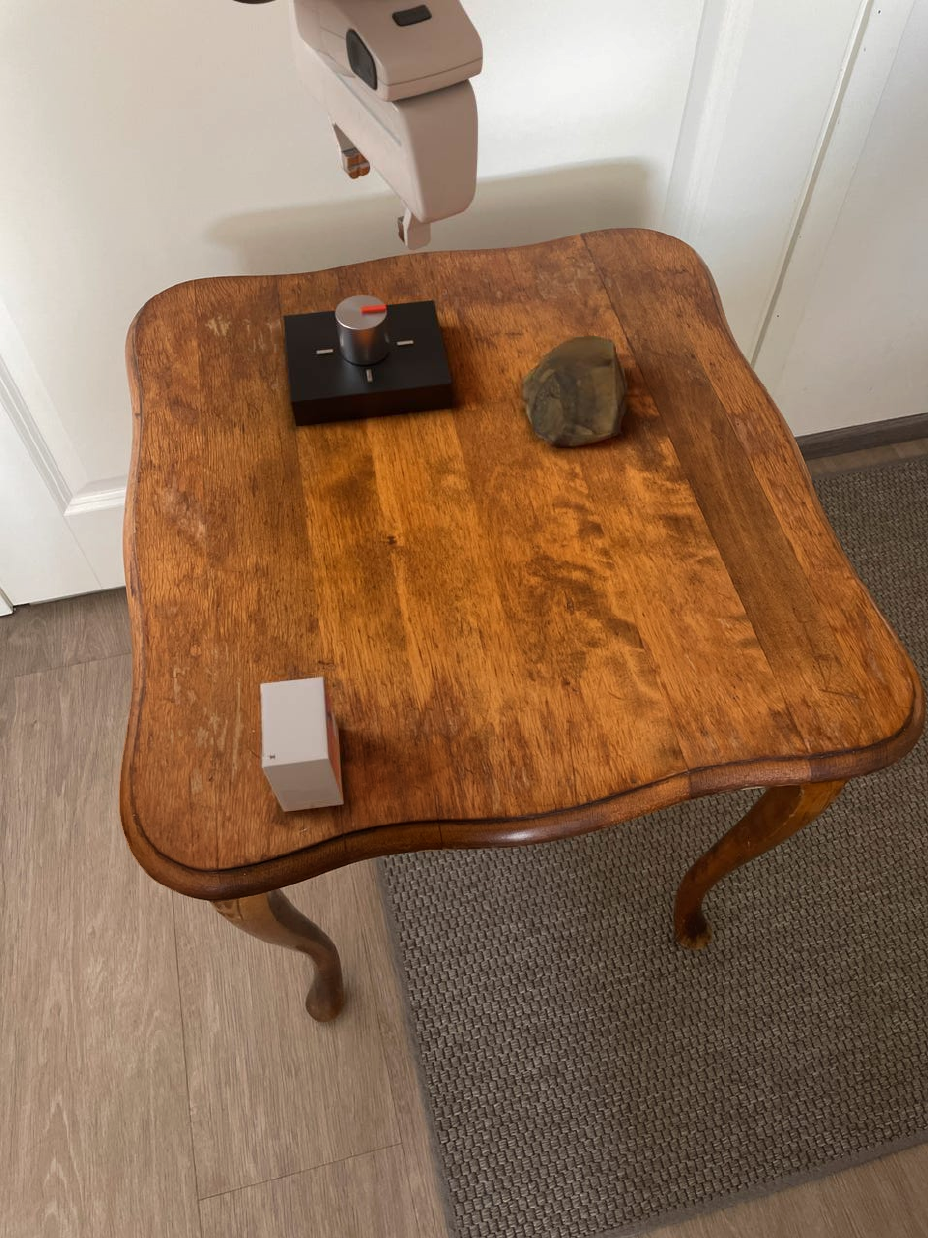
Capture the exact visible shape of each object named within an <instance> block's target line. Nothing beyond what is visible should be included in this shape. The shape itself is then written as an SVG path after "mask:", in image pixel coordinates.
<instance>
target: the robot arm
mask: <svg viewBox="0 0 928 1238" xmlns="http://www.w3.org/2000/svg"><path fill="white" fill-rule="evenodd" d="M232 1H233V2H237V3H241V4H245V5H264V4H268V3H271V2H275V1H276V0H232ZM287 2H288V3H287V4H288V15H289V17H288V18H289V26H290V27H289V28H290V38H291V45H292V54H293V61H294V65H295V66H294V67H295V69H296V72H297V75H298V78H299V81H300V83H301V85H302V86H303V87H304V89H305V90H306V91H307V92H308V93H309V94H310V96H311V97H312V98H313V99H314V101H316V103H318V105H319V106H320V107H321V108H322V109H323V110H324V112H325V113H326V118H327V121H328V124H329V127H330V129H331V132H332V135H333V138H334V141H335V143H336V147H337V148H338V157H339V165H340V168H341V169H342V170H343V171H344V172H345V173H346V175H347V176H349V178H350V179H352V180H355V179H358V178H359V177H365V176H367V175H368V174H370V172H371V167H372V168H373V169H374V170H375V171H376V172H377V173H378V176H380V177H381V179H383V181H384V182H385V184H387V185H388V186H389V187H390V189H391V190H392V191H393V192H394V194H395V195H396V196H397V197H398V198H399V199H400V202H401V205H402V207H403V208H404V209H405V212H404V215H402V216H399V217H397V218H396V219H397V228H398V237H399V238H400V240H401V241H402V242H403V244H404V245H405V247H407V249H408V250H409V251H415V250H418V249H421V248H424V247H426V246H428V245H429V244H430V242H431V239H432V237H431V233H432V232H431V224H433V223H436V222H439V221H443V220H445V219H449V218H451V217H454V216H457V215H459V214H462V213H464V212H465V211H466V210H467V209H468V208H469V207H470V206H471V204H472V203H473V201H474V199H475V196H476V190H477V176H478V157H479V155H478V154H479V115H478V104H477V98H476V94H475V91H474V87H473V86H472V85H473V84H472V83H471V81H470V79H471V78H474V77H476V76H479V75H480V74H481V73H482V70H483V63H484V47H483V42H482V39H481V36H480V34H479V32H478V30H477V29H476V27H475V25H474V23H473V22H472V20H471V19H470V17H469V15H468V14H467V11H466V10H465V8H464V6H463V4H462V3H461V1H460V0H287Z"/></svg>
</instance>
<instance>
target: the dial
mask: <svg viewBox="0 0 928 1238" xmlns="http://www.w3.org/2000/svg"><path fill="white" fill-rule="evenodd" d="M386 305H387V304H386V303H384V301H382V300H381V299H379V298H378V297H376V296H373V295H369V294H357V295H352V296H349V297H346V298H345V299H343V300H341V302H340V303H339V304H338V305H337V306H336V309H335V310H336V312H335V315H336V322H337V329H338V336H339V343H340V350H341V353H342V355H343V357H344V358H345V359H346V360H348V361H349V362H352V363H354V364H358V365H369V364H374V363H377V362H379V361H381V360H382V359H383V358H385V357H386V355H387V354H388V352H389V349H390V343H389V331H388V319H387V309H386Z"/></svg>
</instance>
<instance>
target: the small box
mask: <svg viewBox="0 0 928 1238" xmlns="http://www.w3.org/2000/svg"><path fill="white" fill-rule="evenodd" d="M259 689H260V690H259V691H260V702H261V706H260V707H261V769H262V771H263V773H264V775H265V777H266V779H267V781H268V783H269V785H270V787H271V789H272V791H273V793H274V795H275V797H276V800H277V801H278V803H279V805H280V807H281V810H282V811H283V812H284V813H285V812H294V811H301V810H310V809H317V808H325V807H331V806H333V807H334V806H341V805H344V801H345V800H344V793H343V783H342V769H341V751H340V737H339V736H340V735H339V726H338V723H337V720H336V717H335V713H334V708H333V705H332V702H331V698H330V694H329V690H328V686H327V682H326V679H325V677H324V676H317V677H310V678H309V677H308V678H299V679H291V680H289V679H288V680H281V681H272V682H261V684H259Z"/></svg>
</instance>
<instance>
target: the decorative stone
mask: <svg viewBox="0 0 928 1238" xmlns="http://www.w3.org/2000/svg"><path fill="white" fill-rule="evenodd" d="M625 373H626V372H625V368H624V365H623V364H622V363H621V361H620V359H619V357H618V353H617V348H616V345H615V342H614V340H612V339H608V338H604V337H601V336H597V335H584V336H577V337H576V336H575V337H573V338H572V339H568V340H566V341H564V342H562V343H560V344H559V345H558V346H557V347H555V348H553V349H552V350H551V351H550V352H548V353H546V354H543V355H542V356H541V357H540V358H539V363H537V365H535V366H534V367H533V368H532V369H531V370H529V371H528V372H527V374H526V375H524V377H523V378H522V380H521V381H522V382H521V383H522V384H521V385H522V386H521V387H522V396H523V401H524V403H525V413H526V415H527V418H528V420H529V422H530V424H531V428H532V429H533V433H534V435H536V436H537V437H538V438H540V439H543V441H544V442H545V443H547V444H548V445H549V446H553V447H554V448H559V447H560V448H561V447H570V448H571V447H577V446H583V445H588V444H593V443H597V442H601V441H604V440H608V439H611V438H614V437H617V436H618V435H619V434H620V432H621V429H622V421H623V418H624V415H625V414H626V412H627V405H628V403H627V402H628V401H627V400H628V398H627V396H628V395H627V392H628V380H627V379H628V378H627V376H626V374H625Z"/></svg>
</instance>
